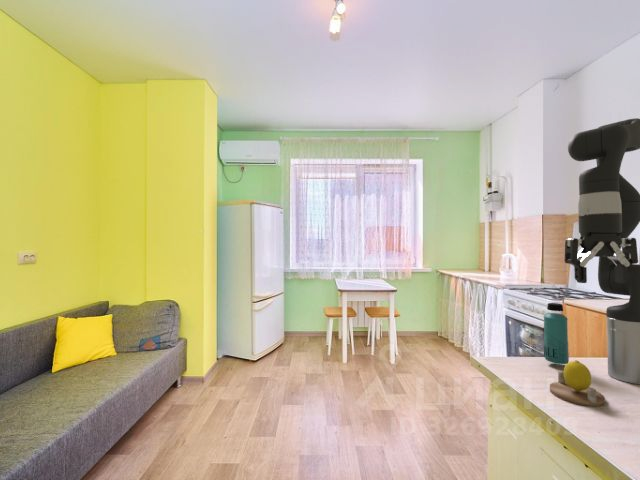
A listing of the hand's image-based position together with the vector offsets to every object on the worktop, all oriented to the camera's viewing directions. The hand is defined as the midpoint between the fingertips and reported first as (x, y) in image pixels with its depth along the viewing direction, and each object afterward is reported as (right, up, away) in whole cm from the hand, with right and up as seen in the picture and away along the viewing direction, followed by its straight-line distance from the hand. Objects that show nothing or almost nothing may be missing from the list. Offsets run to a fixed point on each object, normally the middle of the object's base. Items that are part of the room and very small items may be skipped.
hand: (601, 282), depth 72 cm
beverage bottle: (+11, -31, +28) cm, 43 cm away
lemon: (+1, -30, +8) cm, 30 cm away
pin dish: (+1, -30, +8) cm, 31 cm away
